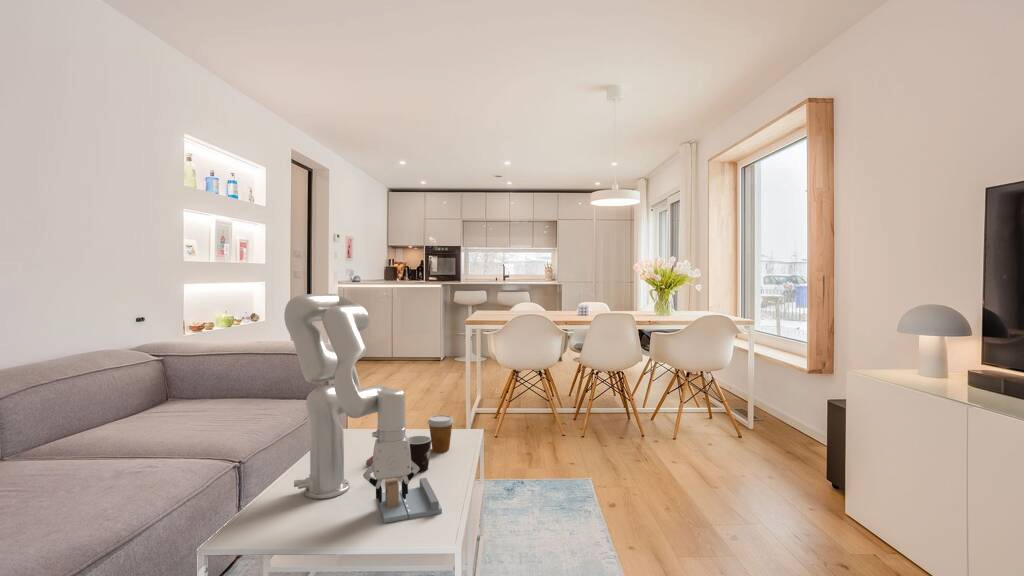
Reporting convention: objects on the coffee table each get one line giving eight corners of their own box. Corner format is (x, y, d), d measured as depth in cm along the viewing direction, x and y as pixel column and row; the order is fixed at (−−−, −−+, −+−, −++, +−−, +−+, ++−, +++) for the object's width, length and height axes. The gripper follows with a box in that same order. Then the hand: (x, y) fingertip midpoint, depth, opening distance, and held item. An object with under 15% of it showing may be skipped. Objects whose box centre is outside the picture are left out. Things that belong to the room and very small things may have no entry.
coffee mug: (417, 476, 156) (417, 445, 156) (400, 470, 161) (399, 440, 161) (443, 465, 165) (443, 436, 165) (425, 460, 170) (425, 431, 170)
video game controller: (375, 471, 164) (385, 453, 164) (364, 465, 164) (373, 447, 164) (384, 460, 174) (392, 443, 174) (372, 455, 174) (381, 438, 174)
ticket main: (408, 519, 127) (408, 506, 127) (399, 493, 143) (399, 481, 143) (442, 513, 130) (442, 500, 130) (429, 488, 146) (429, 477, 146)
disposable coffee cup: (458, 448, 182) (458, 416, 182) (442, 456, 174) (442, 423, 174) (438, 444, 187) (438, 413, 187) (422, 451, 179) (422, 419, 179)
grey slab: (384, 522, 125) (384, 495, 125) (377, 497, 140) (377, 472, 140) (407, 518, 127) (407, 491, 127) (398, 494, 142) (398, 470, 142)
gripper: (360, 442, 127) (360, 510, 127) (425, 434, 133) (425, 499, 133) (358, 434, 134) (358, 498, 134) (420, 427, 140) (420, 488, 140)
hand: (391, 498), depth 134 cm, fingers open, 5 cm apart
